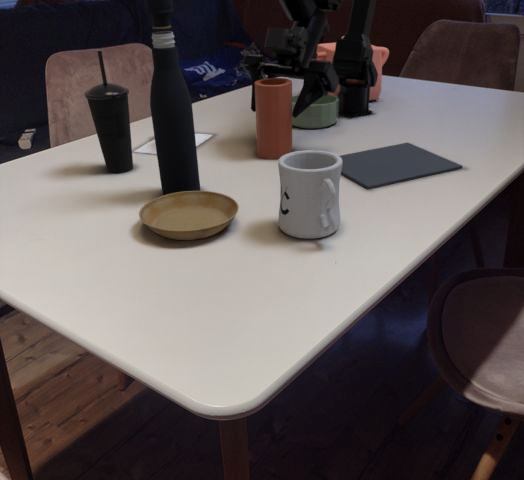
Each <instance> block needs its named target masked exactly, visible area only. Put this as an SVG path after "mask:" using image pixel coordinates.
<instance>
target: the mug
mask: <svg viewBox="0 0 524 480" xmlns="http://www.w3.org/2000/svg"><path fill="white" fill-rule="evenodd" d="M340 156H341V155H338V154H336V153H334V152H331V151H326V150H316V149H304V150H297V151H292V152H291V153H288V154H285V155H283V156H282V157H280V159H277V166H278V175H279V182H280V184H279V185H280V196H279V197H280V201H279V208H278V221H277V224H278V227H279V228H280V230H281V231H282V232H283V233H284V234H286V235H287V236H290V237H293V238H298V239H307V240H308V239H320V238H324V237H328V236H330V235H332V234H334V233H335V232H336V231H337V230H338V229H339V227H340V225H341V210H340V181H341V176H342V174H341V170H342V164H343V162H342V158H341V157H340Z"/></svg>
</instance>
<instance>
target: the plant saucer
mask: <svg viewBox="0 0 524 480" xmlns="http://www.w3.org/2000/svg"><path fill="white" fill-rule="evenodd" d="M239 209H240V206H239V203H238V201H236V200H235V199H234V198H233V197H231V196H228V195H227V194H224V193H221V192H215V191H208V190H201V191H184V192H177V193H172V194H167V195H164V196H163V195H161V196H159V197H155V198H153V199H151V200H150V201H148V202H147V203H146V202H145V204H144V205H143V206H141V208H140V210H139V211H138V217H139V219H140V220H141V222H142V223H143V224H144V225H145V226H146V227H147V228H148V229H150V230H151V231H153V232H155V233H156V234H158V235H160V236H161V237H163V238H167V239H169V240H170V239H171V240H176V241H196V240H200V239H205V238H209V237H212V236H214V235H217V234H218V233H220V232H222V230H224V229H225V228H227V226H228V225H229V224H230V223H231V222H232V221H233V220H234V218H235V217H236V216H237V214H238V213H239Z"/></svg>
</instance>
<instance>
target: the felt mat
mask: <svg viewBox="0 0 524 480" xmlns="http://www.w3.org/2000/svg"><path fill="white" fill-rule="evenodd" d="M339 156H340V157H341V158H342V162H343V164H342V170H341V176H344V177H346V178H347V179H349V180H351V181H353V182H354V183H356V184H357V185H359V186H362V187H363V188H364V189H367V190H370V189H375V188H379V187H380V188H381V187H384V186H388V185H394V184H397V183H398V184H399V183H402V182H407V181H412V180H416V179H422V178H425V177H430V176H434V175H438V174H444V173H448V172H452V171H457V170H463V165H462V164H459V163H457V162H455V161H453V160H450V159H448V158H445V157H443V156H440V155H438V154H436V153H434V152H431V151H428V150H427V149H425V148H421V147H419V146H417V145H415V144H412V143H410V142H403V143H399V144H392V145H387V146H382V147H377V148H372V149H368V150H362V151H357V152H352V153H347V154H342V155H339Z"/></svg>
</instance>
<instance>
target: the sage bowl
mask: <svg viewBox="0 0 524 480" xmlns="http://www.w3.org/2000/svg"><path fill="white" fill-rule="evenodd" d="M298 97H299V94H295V95H292V112H293V109H294V106H295V104H296V101H297V99H298ZM338 109H339V99H338V97H337V96H334V95H331V94H328V95H327V96H322V97H321V98H319V99H318V100H317V101H315V102H314V103H312V104H311V105H310V106H309V107H308V108H306V109H305V110H304V111H303V112H302V113H301V114H300V115H298V116H297V117H296V118H294V117H293V116H292V126H294V127H296V128H300V129H314V130H315V129H325V128H328V127H331V126H333V125H334V124H336V123H337V122H338V121H339V113H338Z"/></svg>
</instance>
